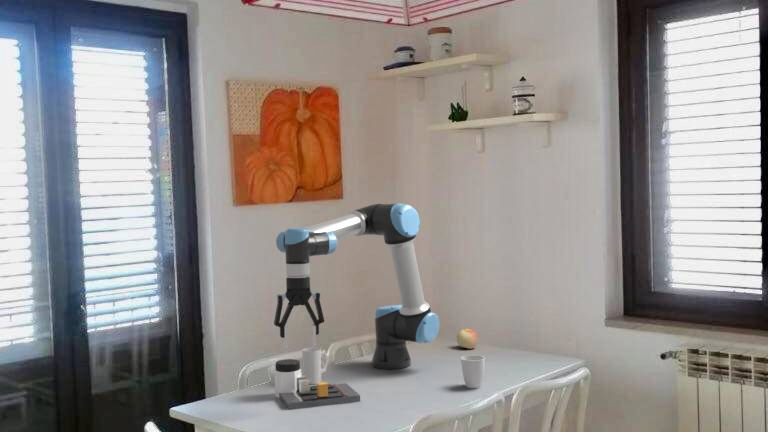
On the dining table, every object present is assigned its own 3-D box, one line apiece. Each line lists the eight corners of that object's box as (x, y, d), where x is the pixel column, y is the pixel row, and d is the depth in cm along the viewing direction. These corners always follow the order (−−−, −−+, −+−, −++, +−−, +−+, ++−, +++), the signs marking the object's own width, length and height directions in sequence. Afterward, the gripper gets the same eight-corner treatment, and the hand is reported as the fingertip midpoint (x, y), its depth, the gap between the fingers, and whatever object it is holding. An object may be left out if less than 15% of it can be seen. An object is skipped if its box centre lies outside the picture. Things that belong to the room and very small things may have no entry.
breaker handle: (325, 393, 267) (325, 381, 267) (328, 396, 264) (327, 383, 264) (316, 394, 266) (316, 382, 266) (319, 397, 263) (318, 384, 263)
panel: (346, 388, 283) (345, 370, 282) (360, 401, 266) (359, 381, 266) (277, 396, 275) (277, 376, 275) (287, 409, 259) (287, 389, 259)
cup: (486, 384, 285) (486, 355, 284) (483, 390, 277) (482, 360, 277) (463, 382, 287) (463, 354, 287) (459, 388, 279) (459, 360, 279)
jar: (284, 392, 281) (284, 358, 281) (305, 394, 278) (304, 359, 277) (271, 399, 273) (270, 363, 273) (292, 401, 270) (291, 365, 269)
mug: (309, 385, 288) (308, 352, 287) (299, 382, 293) (298, 349, 293) (333, 380, 294) (332, 348, 293) (323, 377, 299) (322, 345, 299)
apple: (467, 345, 350) (466, 326, 350) (482, 348, 343) (481, 329, 343) (452, 348, 344) (452, 329, 344) (467, 351, 338) (467, 332, 337)
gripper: (327, 273, 268) (329, 341, 269) (262, 277, 261) (264, 346, 262) (333, 275, 261) (335, 345, 262) (266, 279, 254) (268, 351, 255)
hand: (299, 346), depth 262 cm, fingers open, 9 cm apart
